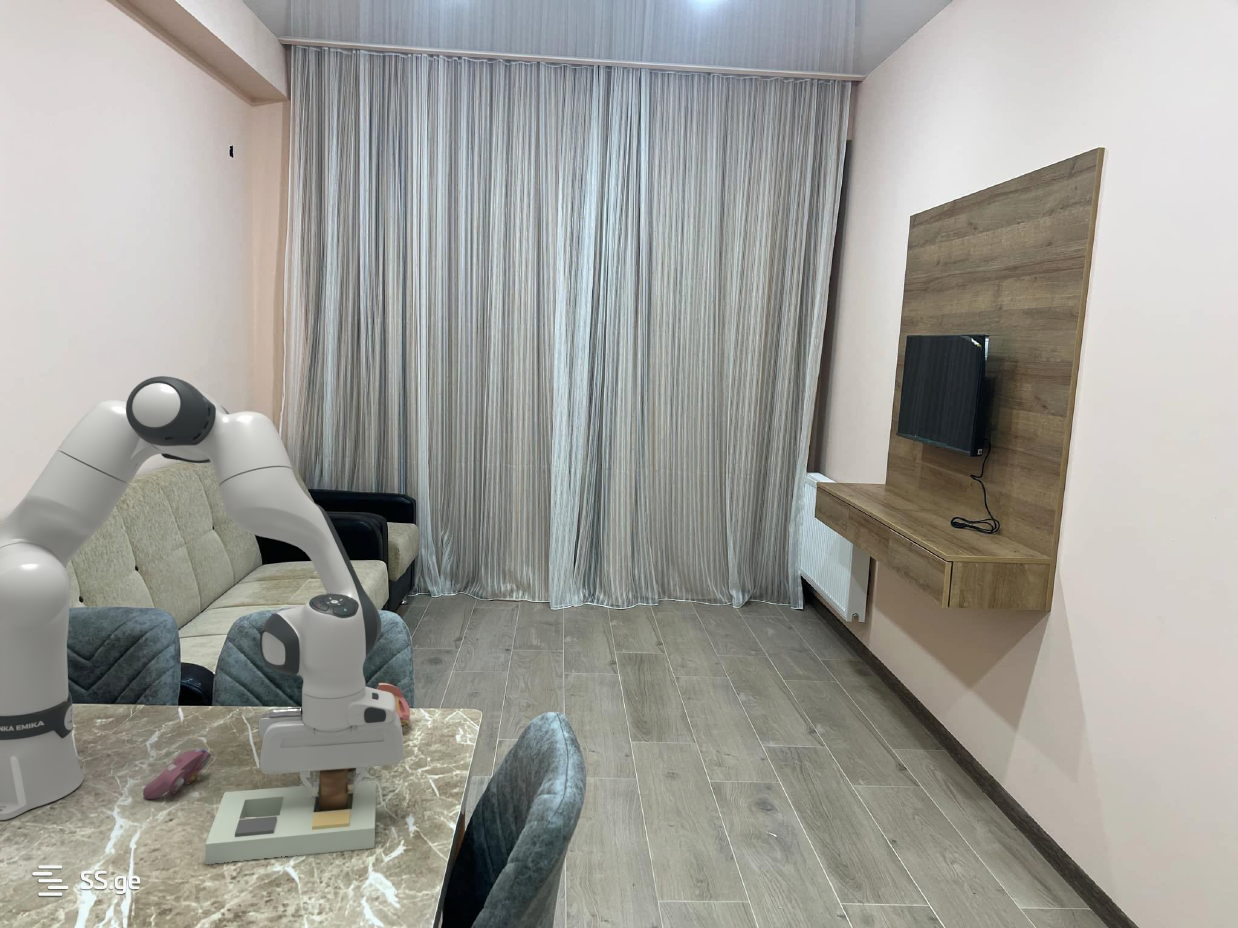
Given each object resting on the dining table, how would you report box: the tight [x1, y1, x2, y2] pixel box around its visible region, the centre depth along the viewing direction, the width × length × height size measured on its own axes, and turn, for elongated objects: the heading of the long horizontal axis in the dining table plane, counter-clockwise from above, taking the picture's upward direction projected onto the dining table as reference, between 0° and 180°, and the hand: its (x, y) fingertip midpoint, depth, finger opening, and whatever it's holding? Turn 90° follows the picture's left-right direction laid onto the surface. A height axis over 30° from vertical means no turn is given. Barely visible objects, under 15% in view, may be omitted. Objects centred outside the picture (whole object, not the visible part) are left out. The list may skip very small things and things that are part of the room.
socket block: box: [204, 779, 377, 866], centre depth 126 cm, size 22×14×4 cm, turn 105°
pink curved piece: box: [142, 746, 212, 800], centre depth 136 cm, size 10×5×7 cm, turn 169°
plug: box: [319, 768, 349, 812], centre depth 129 cm, size 4×4×7 cm
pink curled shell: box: [376, 682, 411, 726], centre depth 160 cm, size 9×10×10 cm
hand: (333, 794), depth 129 cm, fingers open, 4 cm apart
